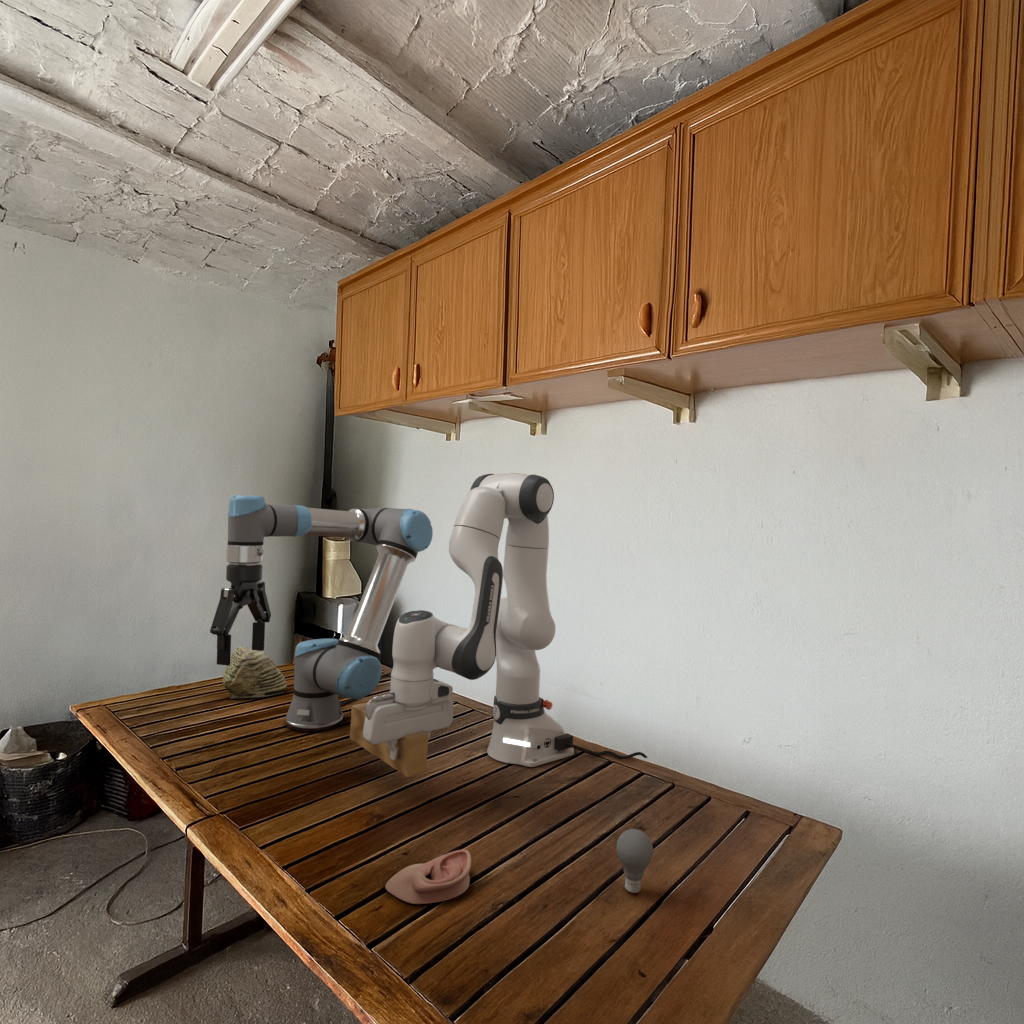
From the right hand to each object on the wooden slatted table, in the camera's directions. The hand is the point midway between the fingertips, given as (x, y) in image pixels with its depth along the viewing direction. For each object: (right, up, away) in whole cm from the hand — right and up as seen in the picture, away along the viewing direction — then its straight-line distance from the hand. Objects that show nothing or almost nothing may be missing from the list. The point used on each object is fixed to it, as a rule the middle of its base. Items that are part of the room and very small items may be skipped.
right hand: (407, 755), depth 132 cm
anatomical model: (+8, -11, -27) cm, 31 cm away
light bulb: (+42, -12, -27) cm, 51 cm away
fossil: (-59, -6, +66) cm, 88 cm away
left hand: (-39, +18, +11) cm, 45 cm away
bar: (-6, -2, +6) cm, 9 cm away
